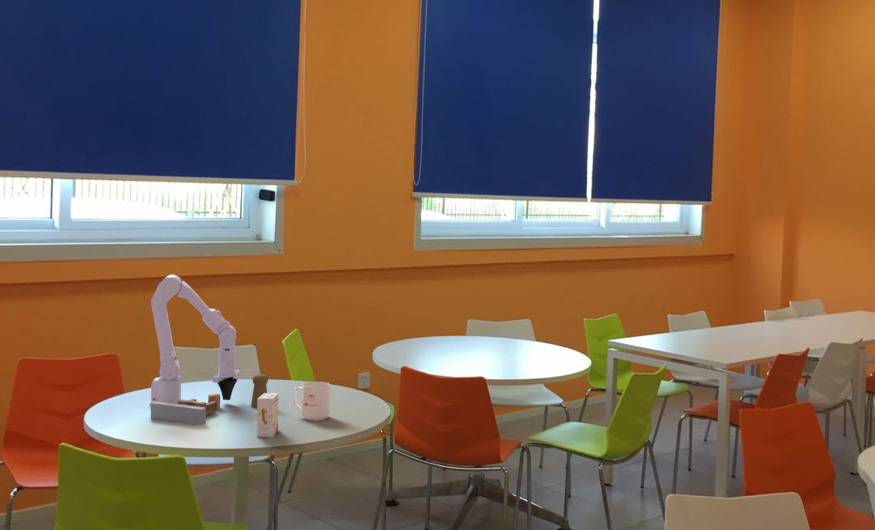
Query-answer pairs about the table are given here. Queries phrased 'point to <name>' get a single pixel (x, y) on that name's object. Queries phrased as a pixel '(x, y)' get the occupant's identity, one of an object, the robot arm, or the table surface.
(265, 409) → the ink box
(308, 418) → the mug
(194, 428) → the table surface
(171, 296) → the robot arm
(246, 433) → the table surface
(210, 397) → the oak dowel
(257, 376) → the cork
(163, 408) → the wall
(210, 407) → the walnut cradle
